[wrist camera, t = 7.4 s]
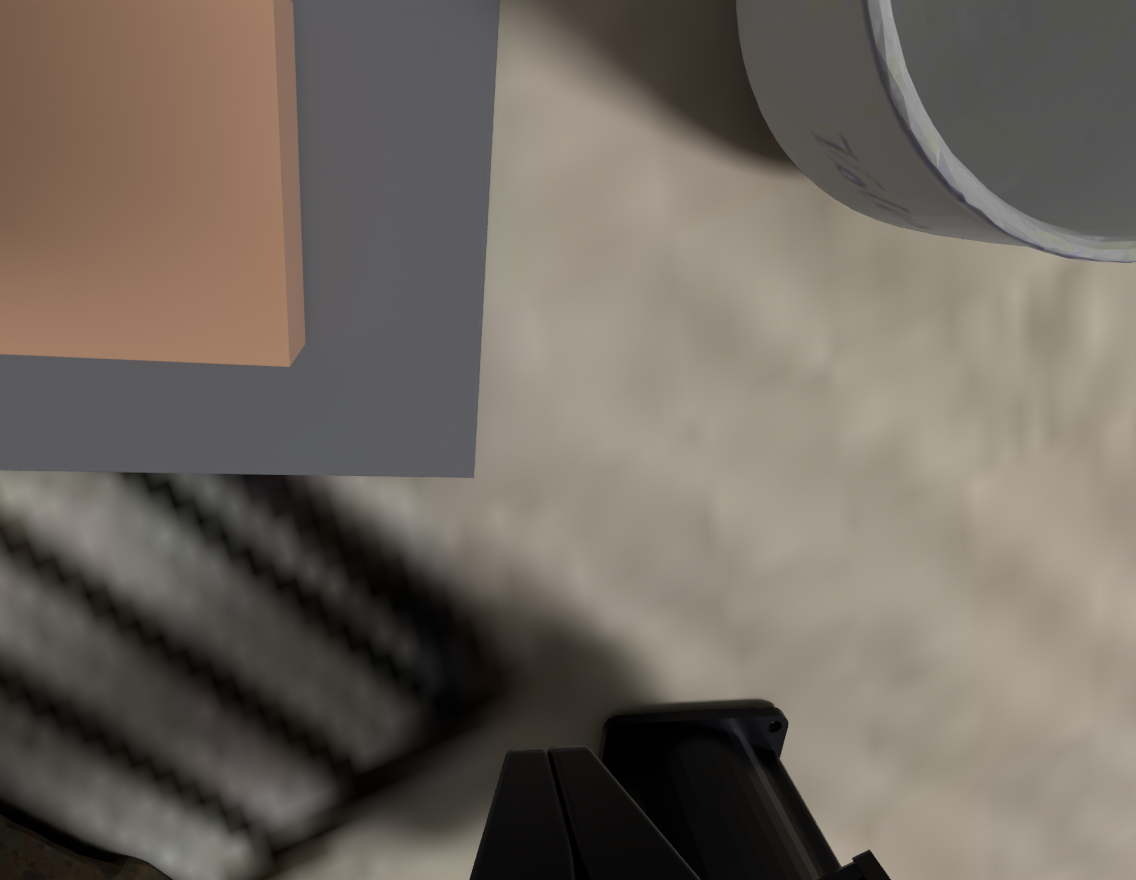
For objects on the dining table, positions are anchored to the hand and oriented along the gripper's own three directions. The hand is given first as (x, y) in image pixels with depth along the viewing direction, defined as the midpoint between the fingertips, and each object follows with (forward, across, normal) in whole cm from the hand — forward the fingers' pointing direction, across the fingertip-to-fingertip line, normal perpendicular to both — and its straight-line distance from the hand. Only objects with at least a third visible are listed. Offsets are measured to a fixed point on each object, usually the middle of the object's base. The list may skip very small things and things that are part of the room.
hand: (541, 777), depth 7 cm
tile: (+11, +4, -5) cm, 13 cm away
